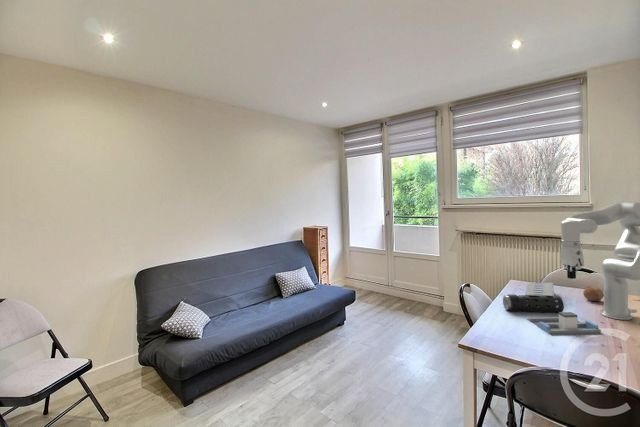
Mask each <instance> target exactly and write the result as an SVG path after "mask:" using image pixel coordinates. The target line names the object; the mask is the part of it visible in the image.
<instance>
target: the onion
mask: <svg viewBox="0 0 640 427" xmlns="http://www.w3.org/2000/svg"><path fill="white" fill-rule="evenodd" d="M582 294H583V296H584V298H585V299H586V300H587V301H590V302H593V301H594V302H595V303H598V302H600V301H601V300H603V299H604V291H602V289H600V288H598V287H594V286H592V285H588V286H587V287H586V288H585V289H584V290H583V293H582Z"/></svg>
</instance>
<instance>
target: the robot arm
mask: <svg viewBox="0 0 640 427" xmlns="http://www.w3.org/2000/svg"><path fill="white" fill-rule="evenodd" d="M616 221H619V222H620V225H621V228H622V234H621V237H620V238H619V240H618V241H617V244H616V245H615V246H614V249H613V255H614V256H615V257H617V258H611V257H609V258H606V259H604V260H603V261H602V262H601V271H602V274H603V276H602V277H603V294H604V297H603V309H601V310H599V314H600V315H602V316H603V317H606V318H609V319H613V320H621V321H622V320H623V321H630V320H632V319H633V315H631V314H636V313H638V310H637V309H635V308H632V309H631V308H630V307H629V284H628V281H627V280H631V281H638V282H639V281H640V202H639V201H637V202H636V201H619V202H615V203H612V204H609V205H607V206H604V207H602V208H600V209H597V210H595V209H594V210H591V211H587V212H581V213H578V214H574V215H572V216H570V217H567V218H566V219H565V220H562V221H561V224H560V230H561V246H560V248H561V249H560V262H561V263H562V265H563V267H565V270H566V277H567V279H576V278H577V271H578V270H581V269H582V267H584V265H585V262H584V254H583V249H582V247H581V234H586V235H587V234H592V233H594V232H595V231H597V230H598V226H603V225H609V224H612V223H613V222H616Z"/></svg>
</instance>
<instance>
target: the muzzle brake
mask: <svg viewBox="0 0 640 427" xmlns="http://www.w3.org/2000/svg"><path fill="white" fill-rule="evenodd" d="M502 305H503V308H504V310H505V311H509V312H539V313H540V312H543V313H544V312H545V313H548V312H549V313H559V312H564V309H565V304H564V301H563V299H562V297H561V296H559V295H554V296H536V295H525V294H520V295H517V294H506V295H503V297H502Z"/></svg>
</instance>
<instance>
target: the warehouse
mask: <svg viewBox="0 0 640 427" xmlns="http://www.w3.org/2000/svg"><path fill="white" fill-rule="evenodd" d="M524 295H536V296H555V290H554V282H527V283H526V290H525V294H524Z"/></svg>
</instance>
